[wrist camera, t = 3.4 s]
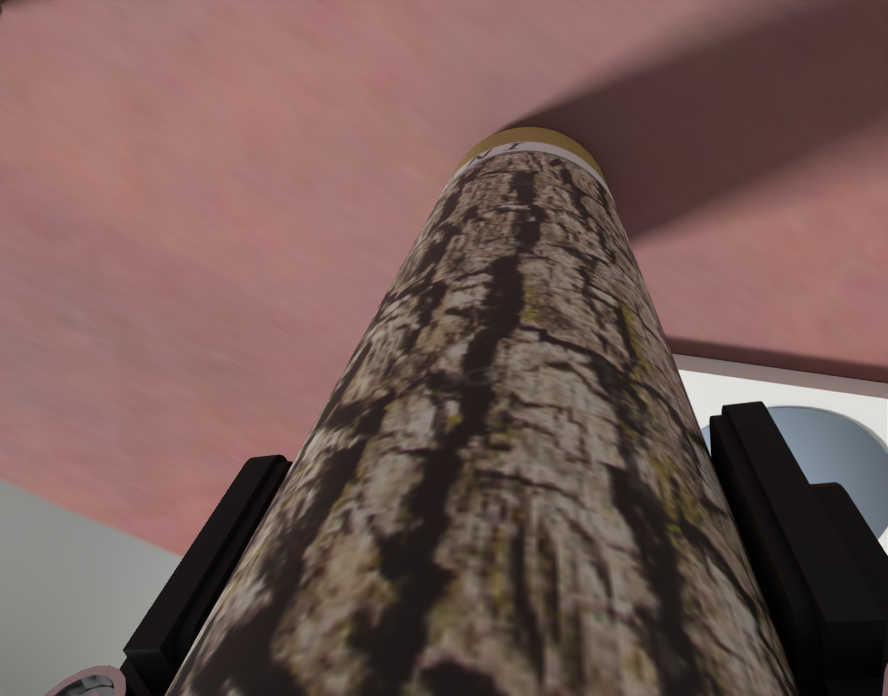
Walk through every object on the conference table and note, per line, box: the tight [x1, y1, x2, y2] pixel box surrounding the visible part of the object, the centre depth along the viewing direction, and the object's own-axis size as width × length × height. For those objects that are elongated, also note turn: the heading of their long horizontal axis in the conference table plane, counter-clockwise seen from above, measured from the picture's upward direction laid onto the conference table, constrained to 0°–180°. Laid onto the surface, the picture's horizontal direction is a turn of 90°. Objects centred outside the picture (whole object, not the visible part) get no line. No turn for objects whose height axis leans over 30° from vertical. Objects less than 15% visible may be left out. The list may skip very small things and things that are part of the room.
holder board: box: [672, 354, 888, 555], centre depth 31 cm, size 20×13×2 cm, turn 85°
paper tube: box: [165, 127, 802, 696], centre depth 16 cm, size 7×7×25 cm
